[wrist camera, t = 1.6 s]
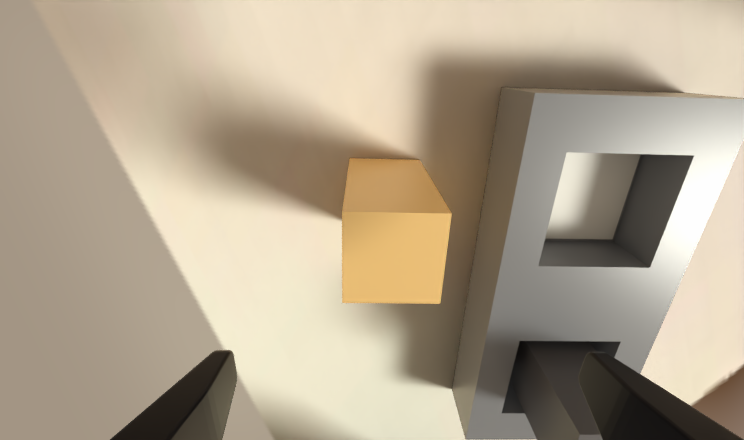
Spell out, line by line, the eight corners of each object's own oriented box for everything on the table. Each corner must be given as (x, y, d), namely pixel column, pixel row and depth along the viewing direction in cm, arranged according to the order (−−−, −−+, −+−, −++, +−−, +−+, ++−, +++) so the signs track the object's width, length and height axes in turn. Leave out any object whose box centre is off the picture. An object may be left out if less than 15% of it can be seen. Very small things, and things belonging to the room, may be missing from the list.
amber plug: (414, 223, 22) (440, 303, 15) (349, 222, 22) (342, 302, 15) (419, 159, 20) (451, 213, 13) (349, 158, 20) (341, 211, 13)
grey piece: (578, 389, 28) (611, 439, 24) (452, 389, 28) (465, 439, 24) (685, 92, 19) (761, 99, 16) (501, 87, 19) (535, 92, 15)
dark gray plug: (558, 366, 26) (636, 487, 18) (502, 365, 25) (559, 488, 18) (572, 321, 24) (664, 434, 17) (513, 320, 24) (580, 434, 17)
